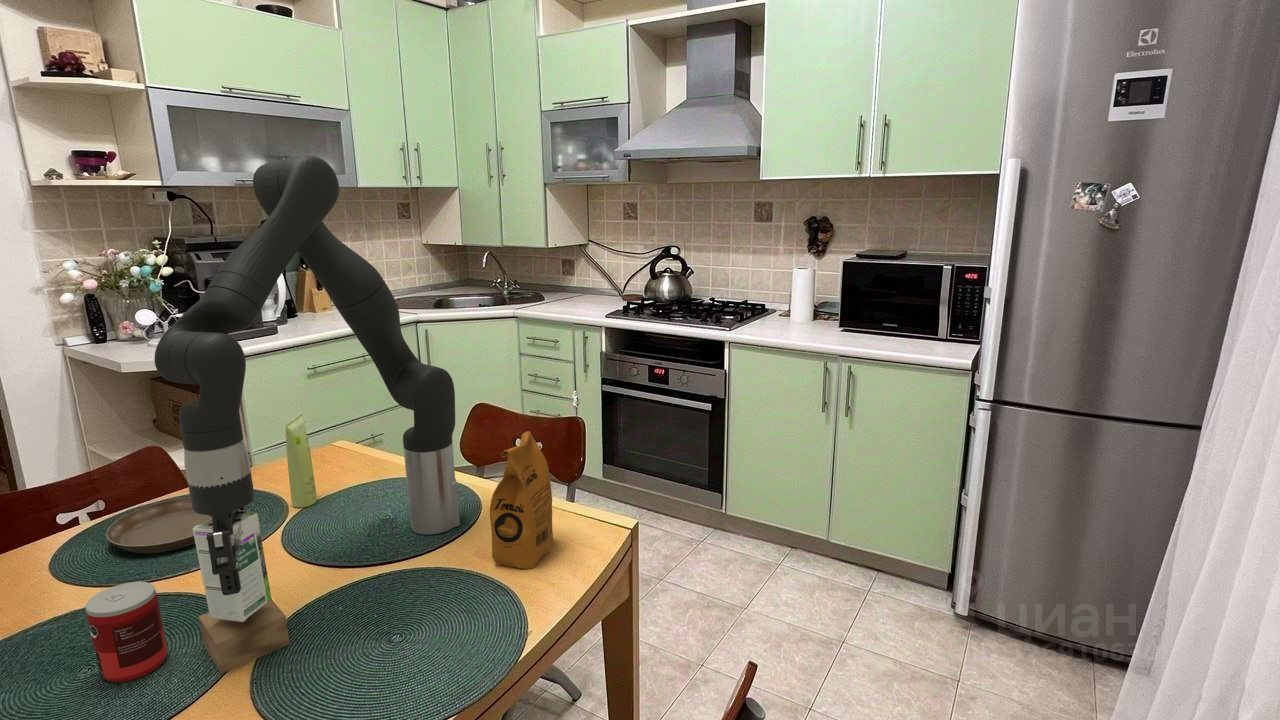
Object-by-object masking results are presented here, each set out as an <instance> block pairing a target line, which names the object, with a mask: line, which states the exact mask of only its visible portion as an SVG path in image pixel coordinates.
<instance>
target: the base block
mask: <svg viewBox="0 0 1280 720" xmlns="http://www.w3.org/2000/svg"><path fill="white" fill-rule="evenodd" d="M198 621H199V622H198V623H199V626H200V627H199V628H200V633H201V637H202V642H203V643H202V644H203V646H204V648H205V650H206V651H207V654H208V655H209V656H210V658H211V660H212V662H213V663H214V665H215V666H216V667H217V670H218V671H219V673H220V674H221V675H222V674H225V673H226V672H229V671H231V670H234V669H235V668H238V667H240V666H242V665H246V664H247V663H250V662H252V661H254V660H256V659H258V658H262V657H263V656H266V655H268V654H270V653H272V652H275V651H277V650H279V649H282V648H285V647H286V646H288V645H290V644H291V643H290V635H289V629H288V623H287V615H285V613H284V612H283V611H282V609H281V608H280V607H279V606H278V605H277V604H276V602H275V601H274V600H273V599H271V600H270V601H269V602H267V603H266V604H265V605H263V606H262V607H261V608H260V609H258V610H257V611H256V612H255V613H253V614H252V615H250V616H249V617H248V618H247V619H246V620H245V621H244V622H238V621H230V620H222V619H217V618H212V617H210V614H209V612H207V613H205V614H202V615H199V616H198Z"/></svg>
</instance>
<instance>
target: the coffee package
mask: <svg viewBox="0 0 1280 720" xmlns="http://www.w3.org/2000/svg"><path fill="white" fill-rule="evenodd" d="M500 457H501V458H506V461H507V463H508V464H507V465H506V466H505V469H504V472H503V475H502V479H501V480H500V481H499V482H498V483H497V486H496V488H495V489H494V491H493V493H492V496H491V500H490V506H489V520H490V521H489V523H490V529H491V558H492V560H493V561H494V563H495V564H496V565H498V566H502V565H504V566H508V567H511V568H512V567H513V568H516V569H519V570H522V569H525V570H529V569H530V570H531V569H533V568H535V567H536V565H537V564H538V563H539V561H540V559H541V558H542V557H544V556H546V555H547V554H549V552H550V550H551V546H552V544H553V542H554V533H553V492H552V484H551V476H550V469H549V464H548V461H547V459H546V458H545V455H544V453H543V452H542V450H541V449H540V447H539V444H538V443H537V441H536V439H534V437H533V435H532V433H531V431H529V430H528V431H525V432H523V433H522V435H521V436H520V442H519V445H517V446H513V447H510V448H509V449H505V450H503V452H502V453H501V454H500Z"/></svg>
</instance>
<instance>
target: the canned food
mask: <svg viewBox="0 0 1280 720" xmlns="http://www.w3.org/2000/svg"><path fill="white" fill-rule="evenodd" d="M84 607H85V615H86V620H87V625H88V629H89V632H90V637H91V642H92V647H93V650H94V656H95V659H96V663H97V668H98V673H99V674H100V675H101V677H102V678H103V680H105V681H107V682H110V683H111V682H112V683H121V682H122V683H123V682H124V683H125V682H129V681H134V680H136V679H139V678H142V677H144V676H146V675H148V674H150V673H152V672H153V671H155V670H157V669H158V668H159V667H160V666H161V665H163V663H164V662H165V660H166V659H167V658H166V657H167V653H168V648H167V642H166V641H167V640H166V637H165V630H164V626H163V621H162V615H161V610H160V605H159V600H158V595H157V590H156V588H155V585H154V584H153V583H151V582H146V581H132V582H125V583H122V584H118V585H114V586H111V587H108V588H106V589H103V590H102V591H100V592H97V593H96V594H94V595H93V596H92V597H91V598H89V599H88V600H87V602H85V606H84Z"/></svg>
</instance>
